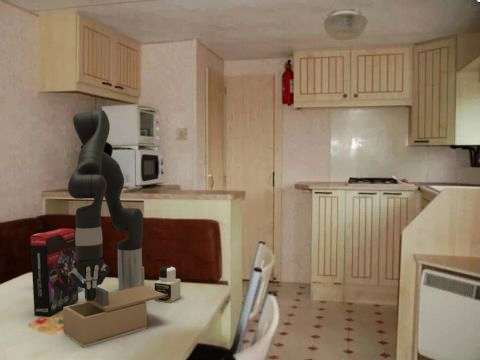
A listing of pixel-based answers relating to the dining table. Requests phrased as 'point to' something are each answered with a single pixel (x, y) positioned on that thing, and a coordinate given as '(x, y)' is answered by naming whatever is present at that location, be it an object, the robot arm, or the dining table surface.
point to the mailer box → (102, 322)
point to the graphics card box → (53, 271)
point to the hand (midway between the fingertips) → (90, 300)
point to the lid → (123, 297)
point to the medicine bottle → (168, 284)
